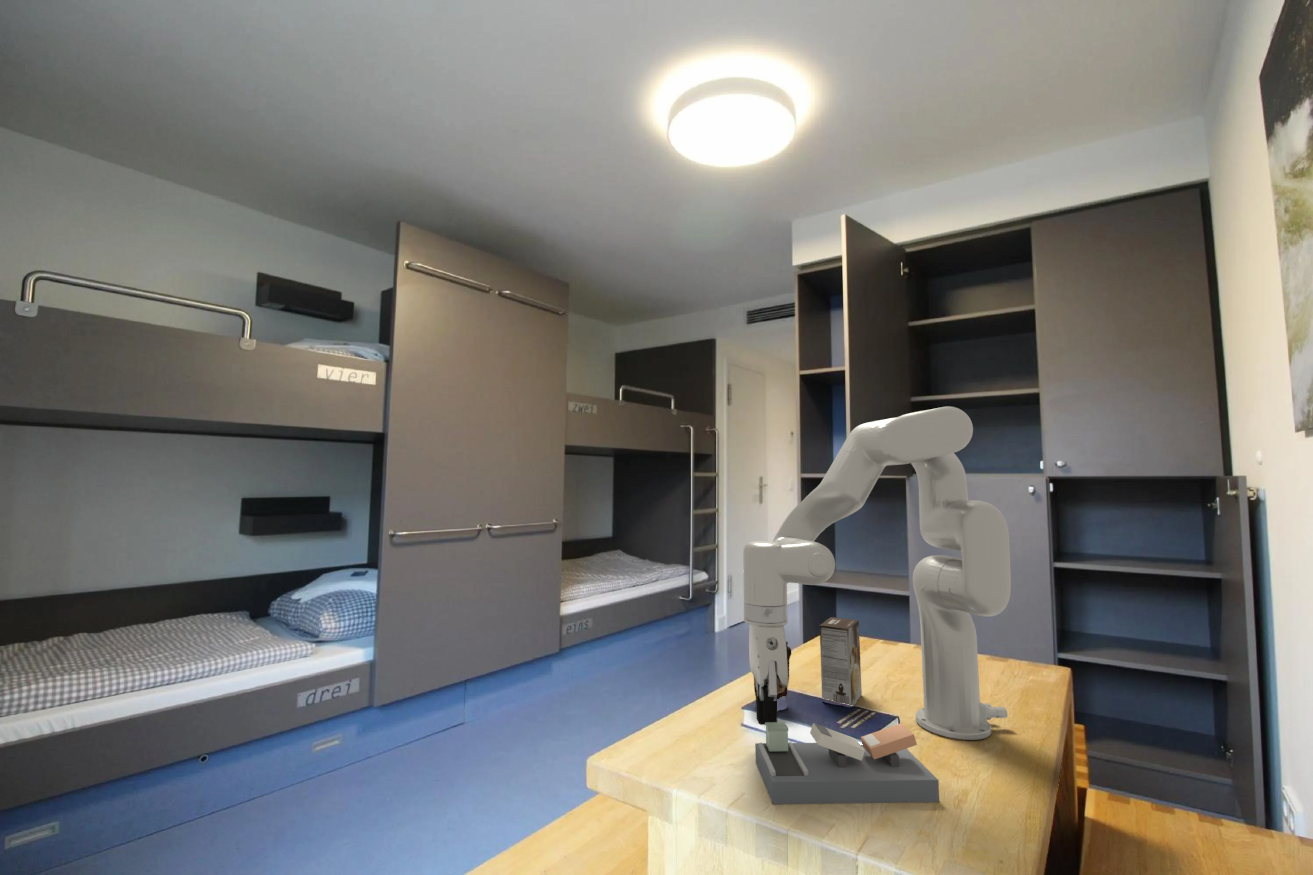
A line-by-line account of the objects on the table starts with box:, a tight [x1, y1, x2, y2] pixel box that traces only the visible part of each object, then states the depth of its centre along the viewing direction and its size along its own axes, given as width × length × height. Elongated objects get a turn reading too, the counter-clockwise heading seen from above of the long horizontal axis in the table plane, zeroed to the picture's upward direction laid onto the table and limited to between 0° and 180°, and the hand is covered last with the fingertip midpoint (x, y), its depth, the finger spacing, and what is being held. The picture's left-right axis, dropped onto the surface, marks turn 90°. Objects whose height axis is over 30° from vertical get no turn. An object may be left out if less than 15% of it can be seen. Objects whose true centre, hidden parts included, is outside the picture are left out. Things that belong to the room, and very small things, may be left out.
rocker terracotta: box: [860, 722, 918, 759], centre depth 85 cm, size 7×4×2 cm, turn 92°
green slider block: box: [765, 721, 789, 751], centre depth 88 cm, size 3×2×3 cm
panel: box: [754, 741, 940, 805], centre depth 85 cm, size 24×12×5 cm, turn 91°
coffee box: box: [819, 616, 863, 706], centre depth 118 cm, size 9×6×16 cm
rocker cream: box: [809, 723, 865, 761], centre depth 85 cm, size 7×4×2 cm, turn 91°
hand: (766, 722), depth 94 cm, fingers closed
